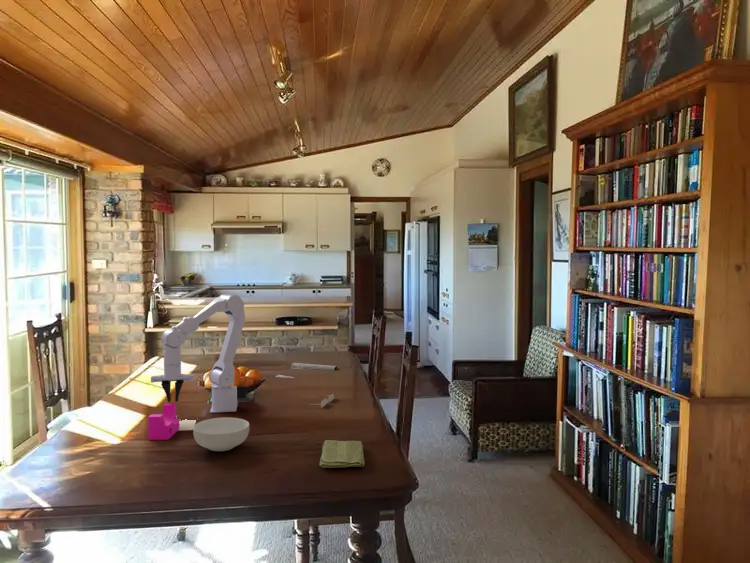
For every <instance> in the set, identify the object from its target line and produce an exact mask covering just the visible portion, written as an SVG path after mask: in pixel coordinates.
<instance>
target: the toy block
mask: <svg viewBox="0 0 750 563" xmlns="http://www.w3.org/2000/svg"><path fill="white" fill-rule="evenodd" d="M177 416H178V415H177V403H165V404H163V405H162V413H160V414H159V413H155V414H154V413H153V414H150V415H149V416H148V417H147V418H148V423H147V424H148V440H150V441H151V440H153V441H154V440H161V441H163V440H165V441H166V440H169V439H171V438H172V437H173V436H174V435H175V434H176V433H177V432H179V431H178V430H179V419H177Z"/></svg>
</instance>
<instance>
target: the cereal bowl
mask: <svg viewBox="0 0 750 563" xmlns="http://www.w3.org/2000/svg"><path fill="white" fill-rule="evenodd" d="M192 431H193V433H192V434H193V437H194V441H195V442H196V443H197V444H198V445H199V446H201V447H203V448H205V449H208V450H210V451H211V452H226V451H230V450H232V449H234V448H235V447H237V446H240V445H241V444H242V443H244V442H245V441H246V439H247V438H248V436H249V433H250V422H249V421H248V420H246V419H243V418H239V417H227V416H226V417H213V418H209V419H204V420H201V421H198V422H196V423H195V425H194V428H193V430H192Z"/></svg>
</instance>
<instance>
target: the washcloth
mask: <svg viewBox="0 0 750 563" xmlns="http://www.w3.org/2000/svg"><path fill="white" fill-rule="evenodd" d="M321 447H322V448H321V456H320V458H319V465H318V466H319V467H321V468H323V469H326V468H328V469H335V468H337V469H339V468H341V469H342V468H351V467H355V468H356V467H358V468H359V467H360V468H363V467H365V464H366V462H365V456H364V455H365V454H364V445H363V442H362V441H361V440H346V441H345V440H336V439H334V440H332V439H331V440H330V439H326V440H324V442H323V443H322V446H321Z"/></svg>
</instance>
